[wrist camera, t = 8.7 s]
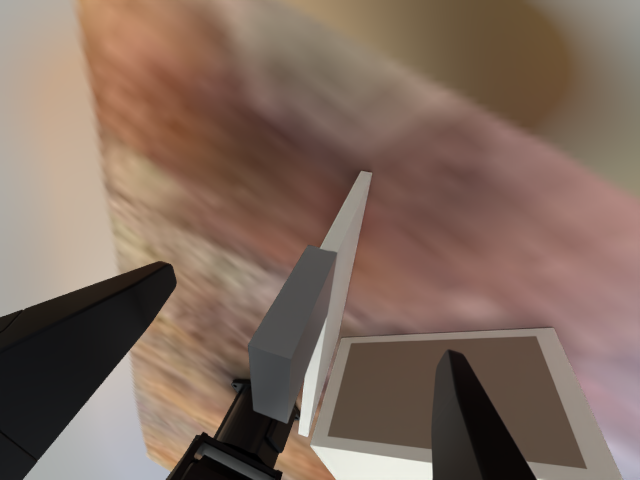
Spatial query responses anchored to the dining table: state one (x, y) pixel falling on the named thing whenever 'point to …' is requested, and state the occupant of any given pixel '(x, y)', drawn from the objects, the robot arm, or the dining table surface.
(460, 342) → the carton
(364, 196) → the front flap
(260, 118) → the dining table surface
